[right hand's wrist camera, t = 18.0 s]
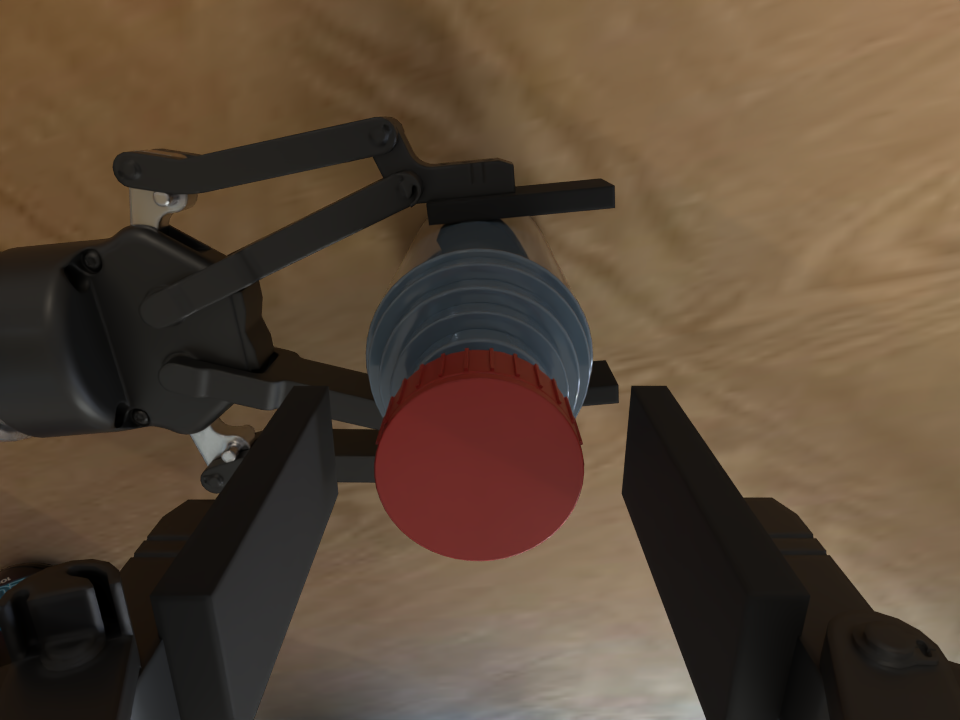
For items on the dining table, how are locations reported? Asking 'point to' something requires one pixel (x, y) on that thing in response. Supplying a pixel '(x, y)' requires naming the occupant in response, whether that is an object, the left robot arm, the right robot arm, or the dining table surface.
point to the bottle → (479, 306)
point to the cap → (479, 456)
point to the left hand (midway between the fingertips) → (608, 291)
